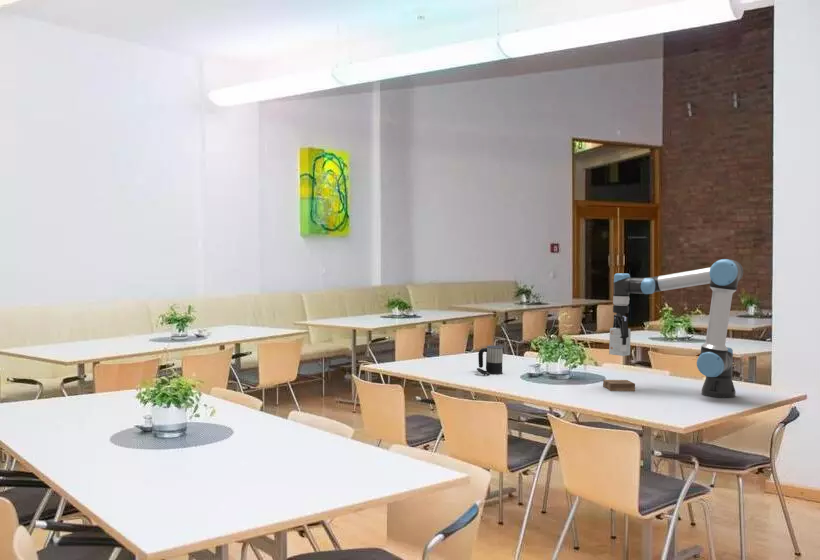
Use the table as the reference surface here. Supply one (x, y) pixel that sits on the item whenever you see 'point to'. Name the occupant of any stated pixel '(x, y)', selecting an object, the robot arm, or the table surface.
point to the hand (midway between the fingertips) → (619, 350)
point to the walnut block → (619, 385)
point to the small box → (618, 342)
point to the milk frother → (491, 360)
